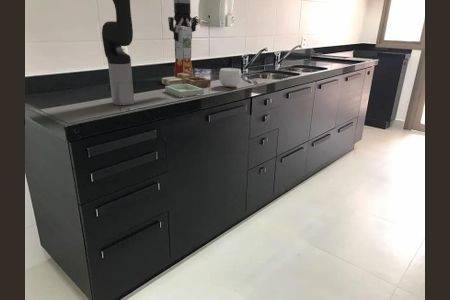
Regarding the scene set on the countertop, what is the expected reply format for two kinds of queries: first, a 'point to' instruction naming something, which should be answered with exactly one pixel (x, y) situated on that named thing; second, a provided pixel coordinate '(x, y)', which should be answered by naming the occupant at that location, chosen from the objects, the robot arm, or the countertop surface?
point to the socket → (197, 82)
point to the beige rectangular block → (172, 81)
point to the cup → (230, 77)
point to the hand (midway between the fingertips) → (183, 40)
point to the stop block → (183, 75)
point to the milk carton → (183, 66)
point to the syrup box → (183, 43)
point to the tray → (184, 90)
